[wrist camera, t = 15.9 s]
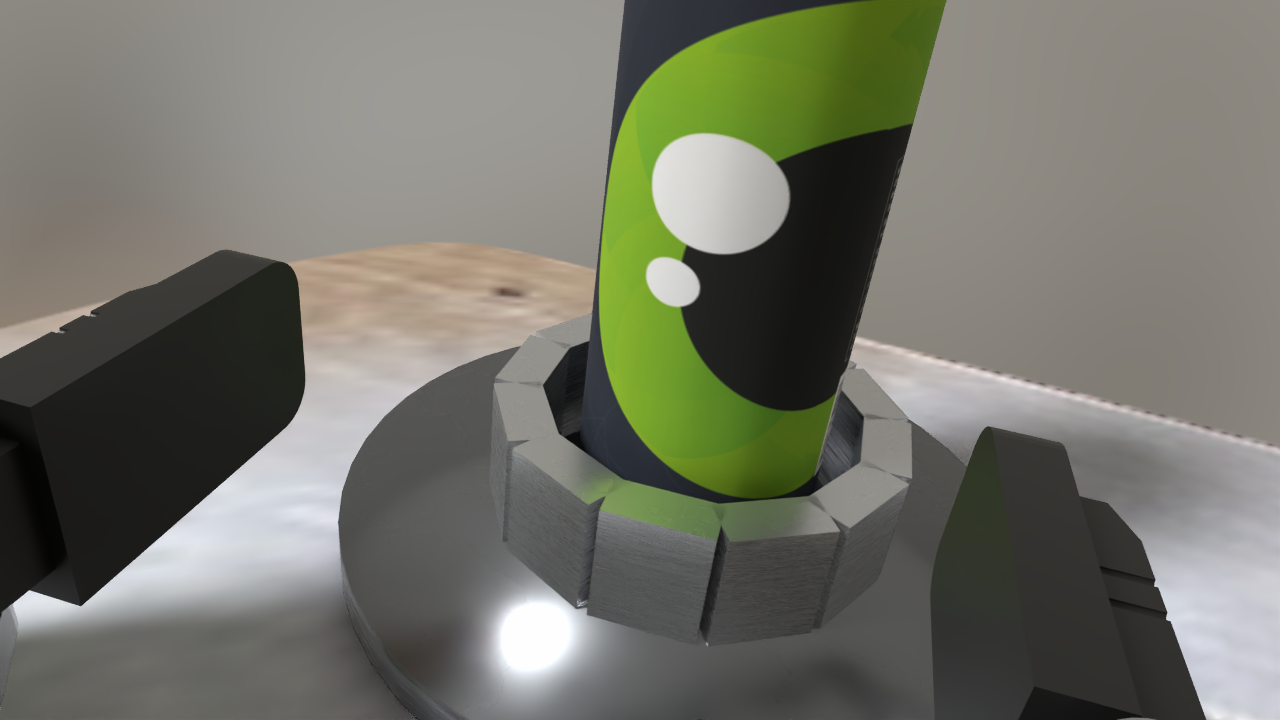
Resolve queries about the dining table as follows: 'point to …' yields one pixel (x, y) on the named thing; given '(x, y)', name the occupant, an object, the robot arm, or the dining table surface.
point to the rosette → (635, 562)
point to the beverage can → (743, 233)
